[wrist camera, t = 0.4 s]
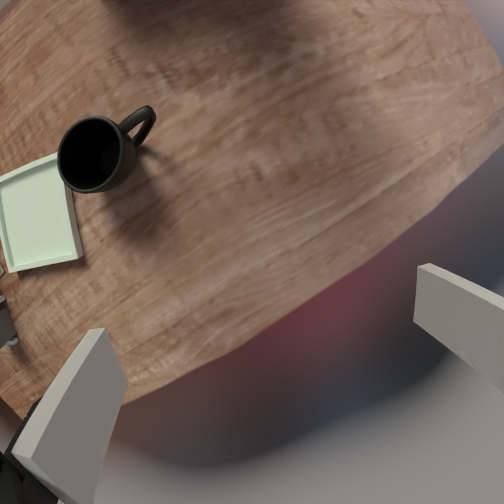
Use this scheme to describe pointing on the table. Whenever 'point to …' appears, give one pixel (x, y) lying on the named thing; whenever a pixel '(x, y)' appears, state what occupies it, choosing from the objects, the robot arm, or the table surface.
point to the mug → (101, 151)
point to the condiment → (1, 270)
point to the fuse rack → (6, 327)
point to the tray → (37, 217)
